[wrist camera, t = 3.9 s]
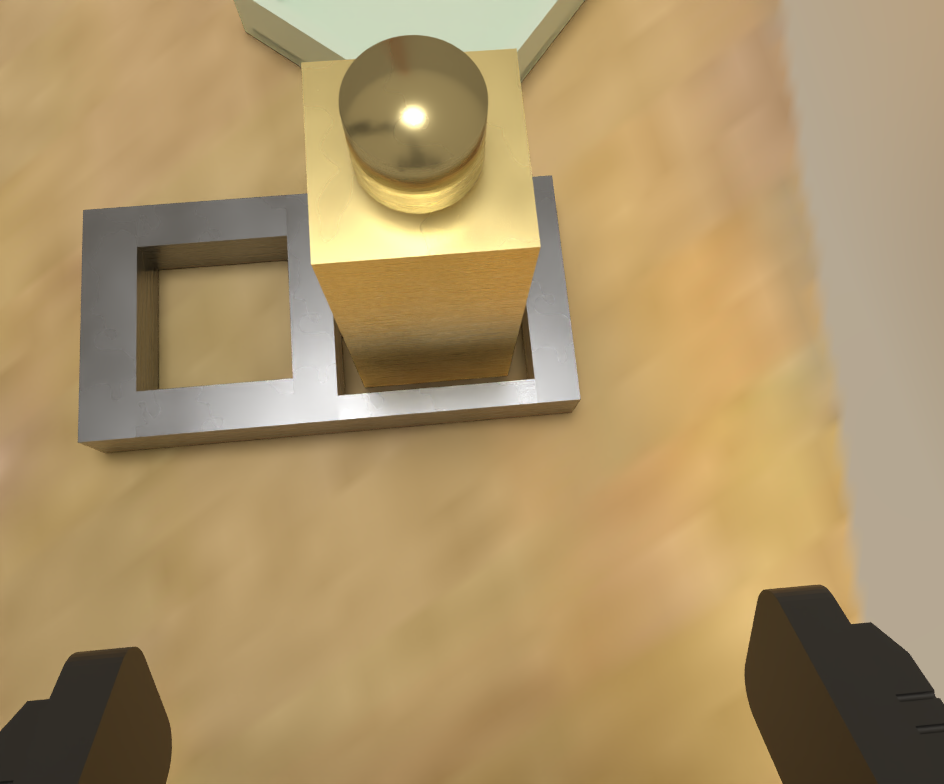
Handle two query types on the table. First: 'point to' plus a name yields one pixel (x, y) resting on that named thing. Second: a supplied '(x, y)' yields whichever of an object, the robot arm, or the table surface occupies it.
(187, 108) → the table surface
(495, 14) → the parts tray
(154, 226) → the grey metal holder frame
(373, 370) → the gold perfume bottle
